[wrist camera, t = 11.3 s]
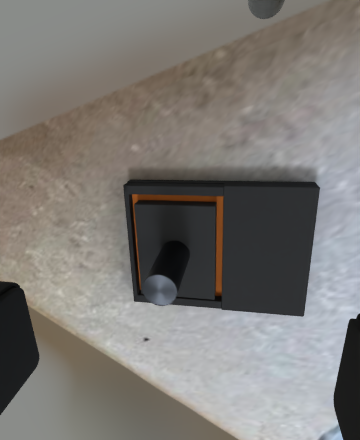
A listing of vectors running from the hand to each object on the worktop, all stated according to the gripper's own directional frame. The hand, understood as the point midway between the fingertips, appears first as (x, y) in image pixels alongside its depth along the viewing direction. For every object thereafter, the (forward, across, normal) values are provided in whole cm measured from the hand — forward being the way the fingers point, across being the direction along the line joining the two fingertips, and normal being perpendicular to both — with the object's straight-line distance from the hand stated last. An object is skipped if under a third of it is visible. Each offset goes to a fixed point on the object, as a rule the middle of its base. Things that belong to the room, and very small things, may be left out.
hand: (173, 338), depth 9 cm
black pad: (+19, +4, +7) cm, 21 cm away
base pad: (+20, 0, +7) cm, 21 cm away
